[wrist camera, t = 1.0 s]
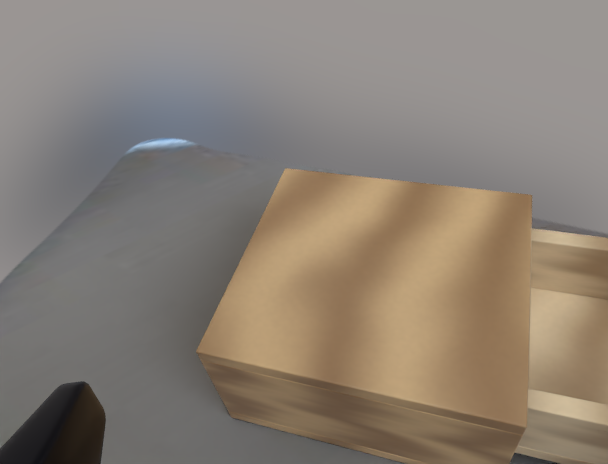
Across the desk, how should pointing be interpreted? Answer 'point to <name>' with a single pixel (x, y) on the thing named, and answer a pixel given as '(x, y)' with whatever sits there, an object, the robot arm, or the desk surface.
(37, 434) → the robot arm
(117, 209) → the desk surface
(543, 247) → the drawer
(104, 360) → the desk surface
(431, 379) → the box
